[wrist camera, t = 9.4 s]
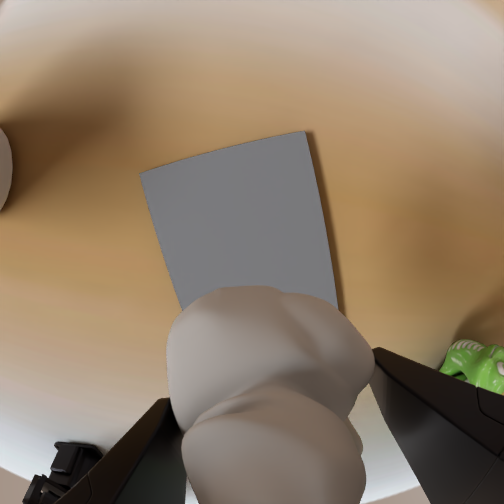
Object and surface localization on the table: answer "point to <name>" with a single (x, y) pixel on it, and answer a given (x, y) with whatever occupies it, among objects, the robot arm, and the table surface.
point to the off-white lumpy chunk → (268, 397)
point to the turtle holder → (476, 364)
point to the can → (5, 168)
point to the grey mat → (242, 220)
